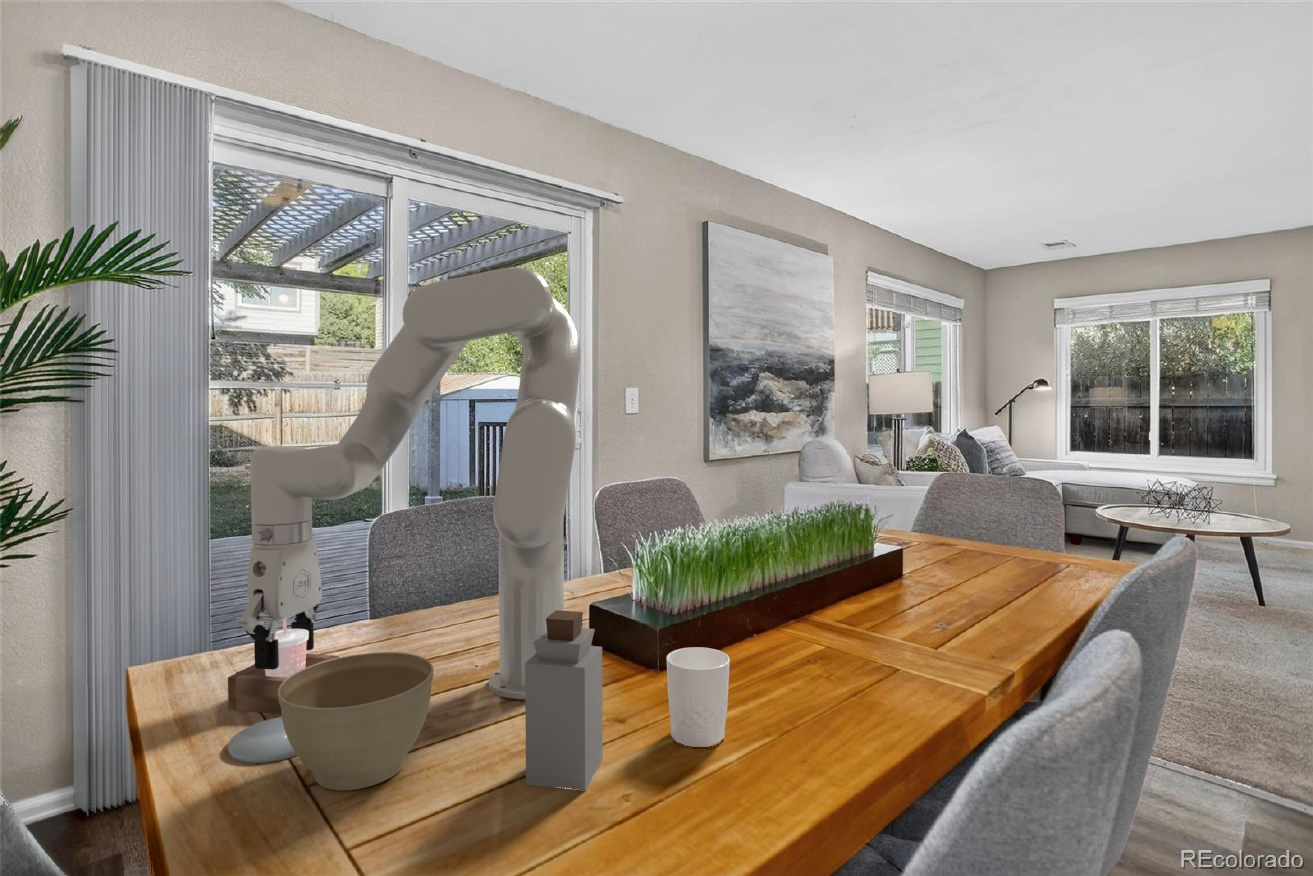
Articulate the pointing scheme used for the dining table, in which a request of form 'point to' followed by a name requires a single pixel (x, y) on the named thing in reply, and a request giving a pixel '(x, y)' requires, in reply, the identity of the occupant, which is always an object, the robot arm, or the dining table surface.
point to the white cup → (698, 695)
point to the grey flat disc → (261, 743)
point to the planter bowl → (356, 715)
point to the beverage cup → (290, 651)
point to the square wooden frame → (260, 688)
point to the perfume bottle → (563, 705)
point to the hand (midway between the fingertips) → (285, 657)
